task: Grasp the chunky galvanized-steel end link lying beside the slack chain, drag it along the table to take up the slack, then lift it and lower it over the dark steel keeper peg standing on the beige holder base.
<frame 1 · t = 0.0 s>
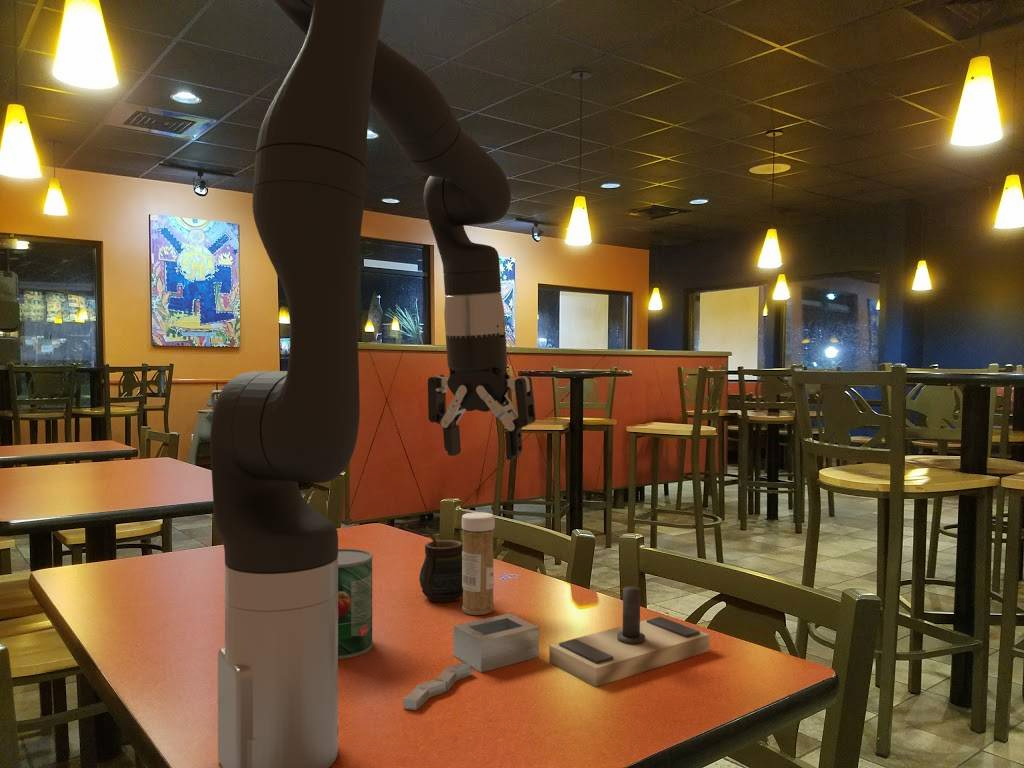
hand: (483, 456, 96), 22 cm above the table, tool pointing down, fingers open, 8 cm apart
canned tomato: (339, 648, 90), on the table
link: (495, 656, 87), on the table
beige holder base: (630, 656, 87), on the table
spice jar: (477, 612, 104), on the table
slack chain: (437, 688, 78), on the table
mate gourd: (442, 599, 110), on the table
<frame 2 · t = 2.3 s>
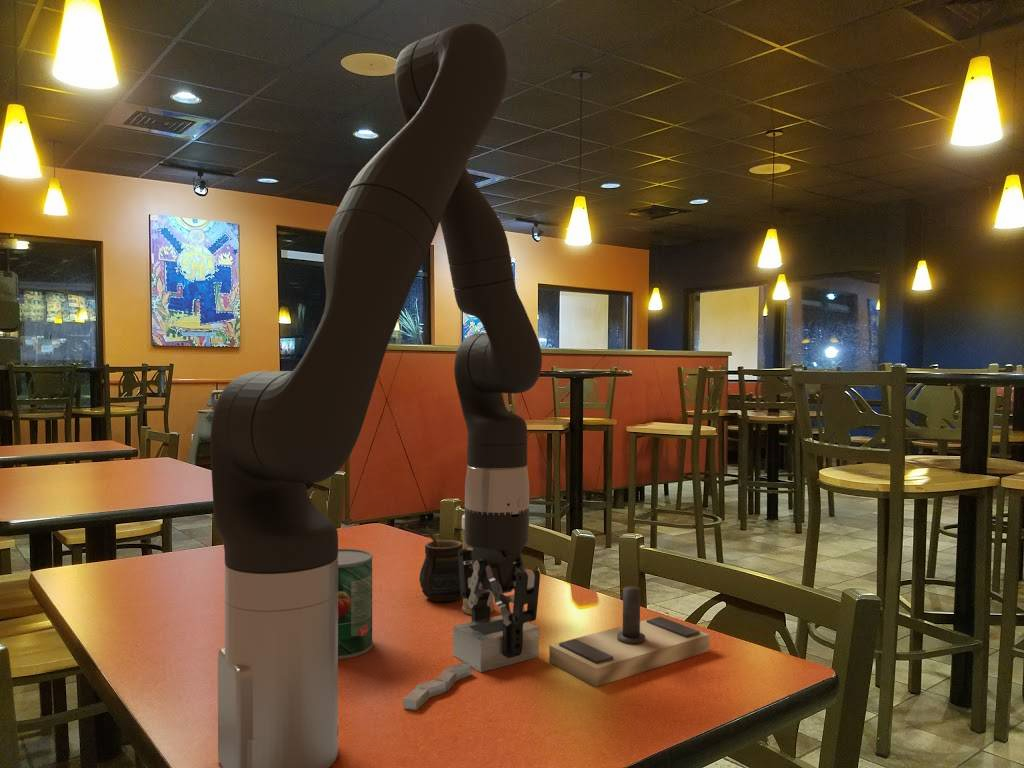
hand: (496, 646, 87), 1 cm above the table, tool pointing down, fingers closed on link, 6 cm apart
link: (495, 656, 87), on the table, touching gripper
everything else where it was.
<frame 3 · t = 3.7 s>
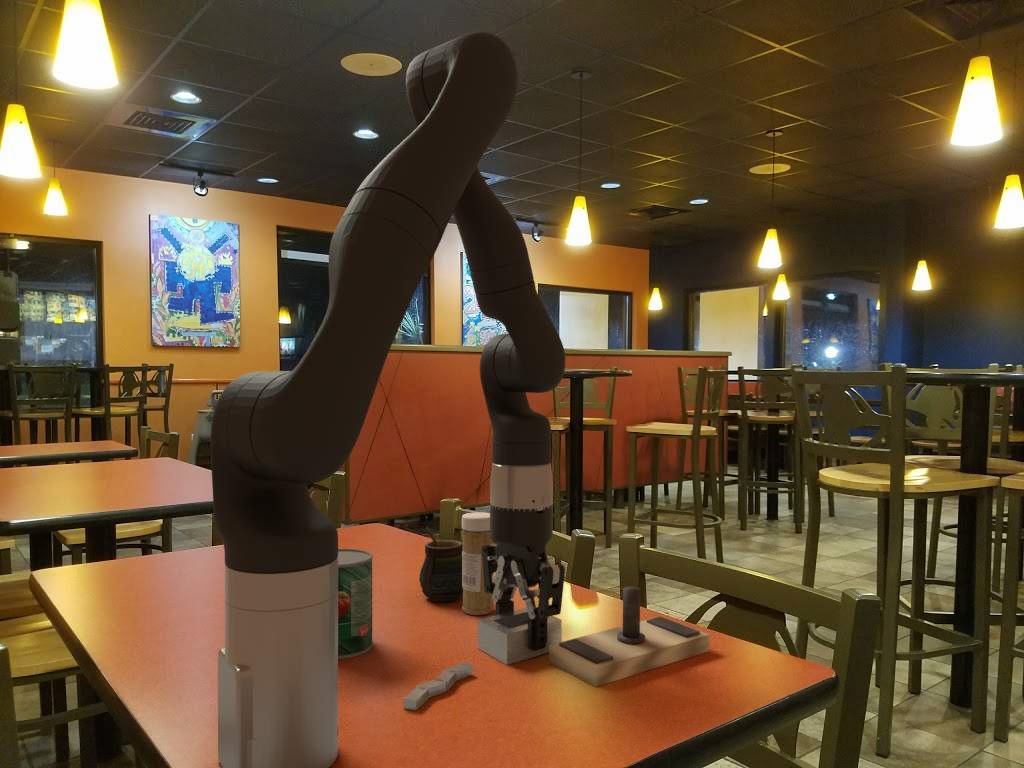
hand: (520, 639, 89), 1 cm above the table, tool pointing down, fingers closed on link, 6 cm apart
link: (519, 648, 89), on the table, touching gripper
everything else where it was.
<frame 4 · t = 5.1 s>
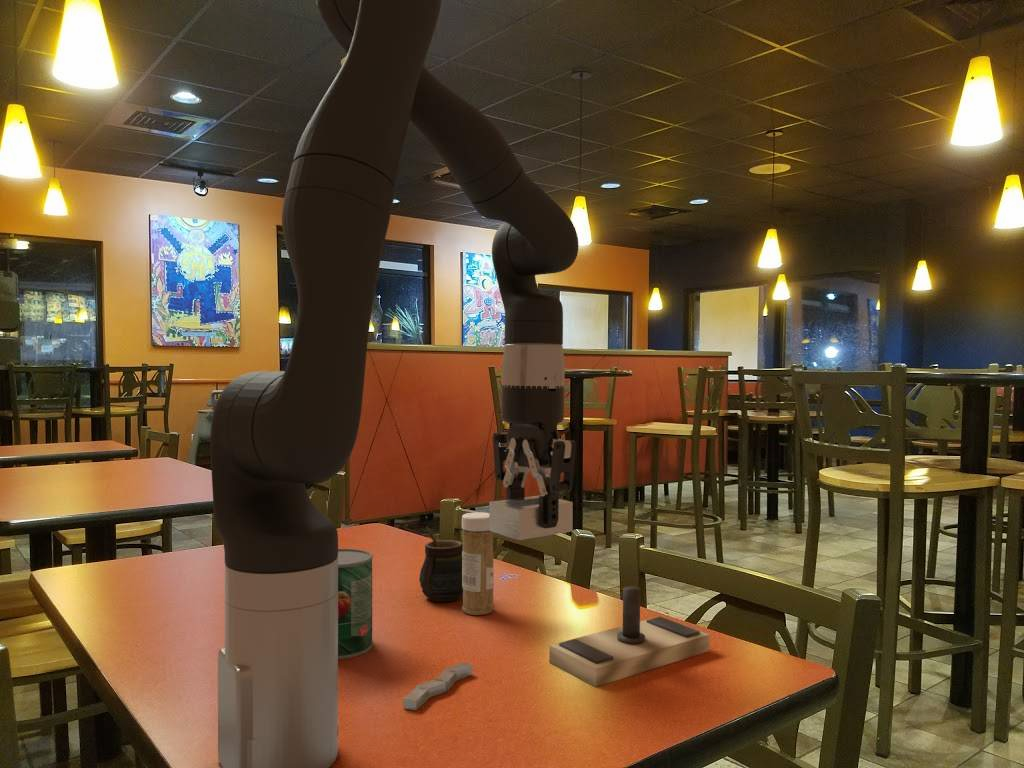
hand: (531, 522, 90), 15 cm above the table, tool pointing down, fingers closed on link, 6 cm apart
link: (530, 530, 90), point 14 cm above the table, touching gripper
everything else where it was.
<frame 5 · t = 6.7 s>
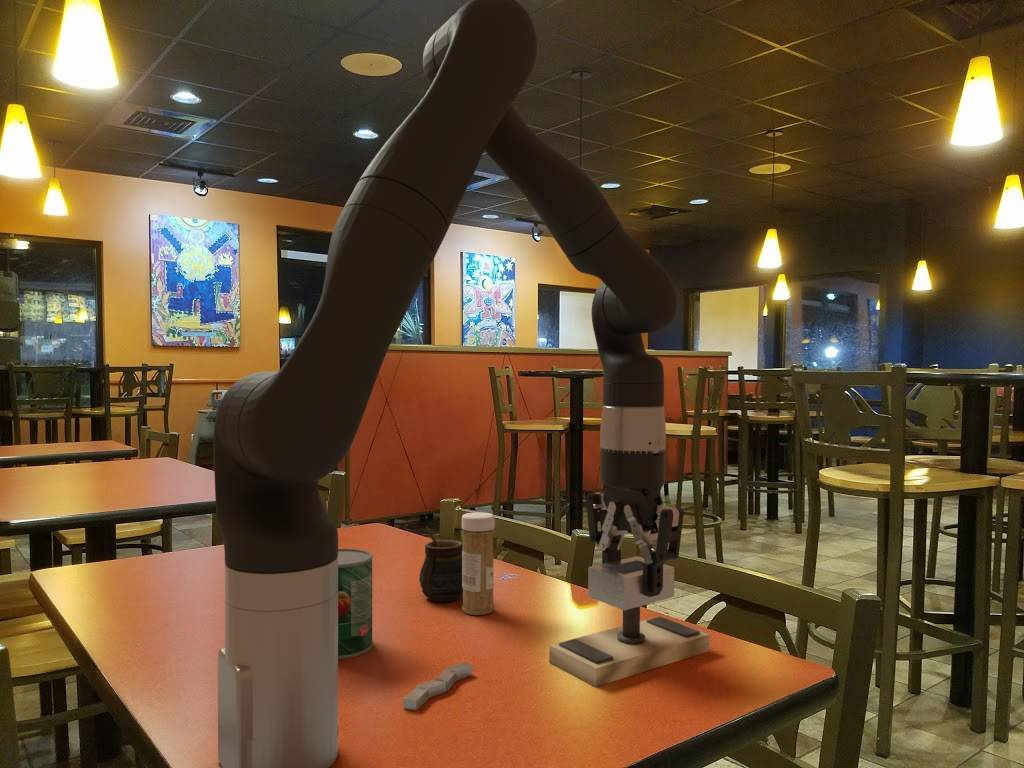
hand: (631, 587, 87), 8 cm above the table, tool pointing down, fingers closed on link, 6 cm apart
link: (631, 596, 87), point 7 cm above the table, touching gripper
everything else where it was.
when the fingers open (4 cm above the table, at t = 8.1 s): link stays where it is, resting on beige holder base.
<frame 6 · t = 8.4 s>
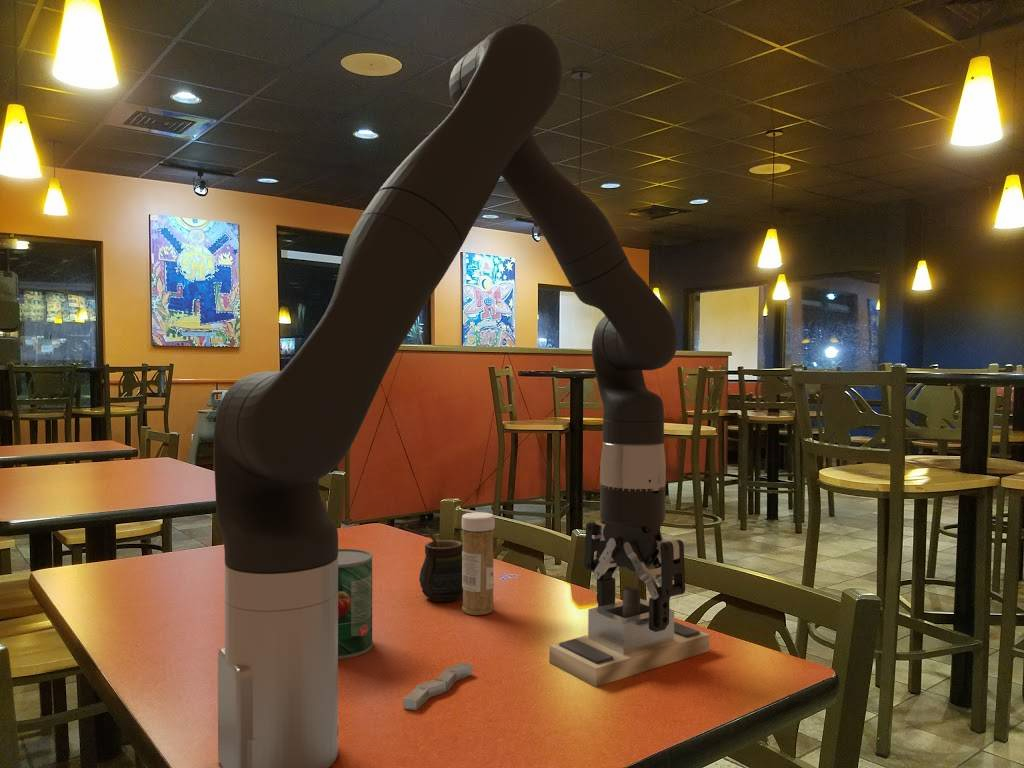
hand: (631, 619, 87), 4 cm above the table, tool pointing down, fingers open, 8 cm apart
link: (630, 639, 87), point 2 cm above the table, touching beige holder base
everything else where it was.
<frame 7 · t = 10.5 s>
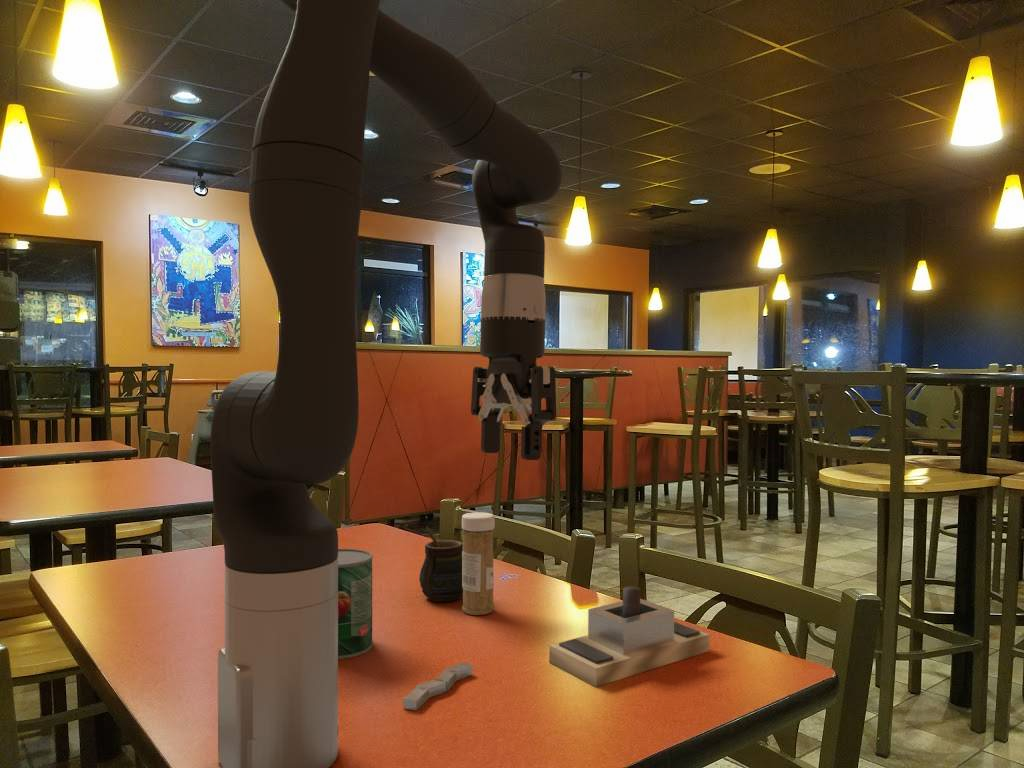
hand: (509, 456, 87), 23 cm above the table, tool pointing down, fingers open, 8 cm apart
nothing on the table moved.
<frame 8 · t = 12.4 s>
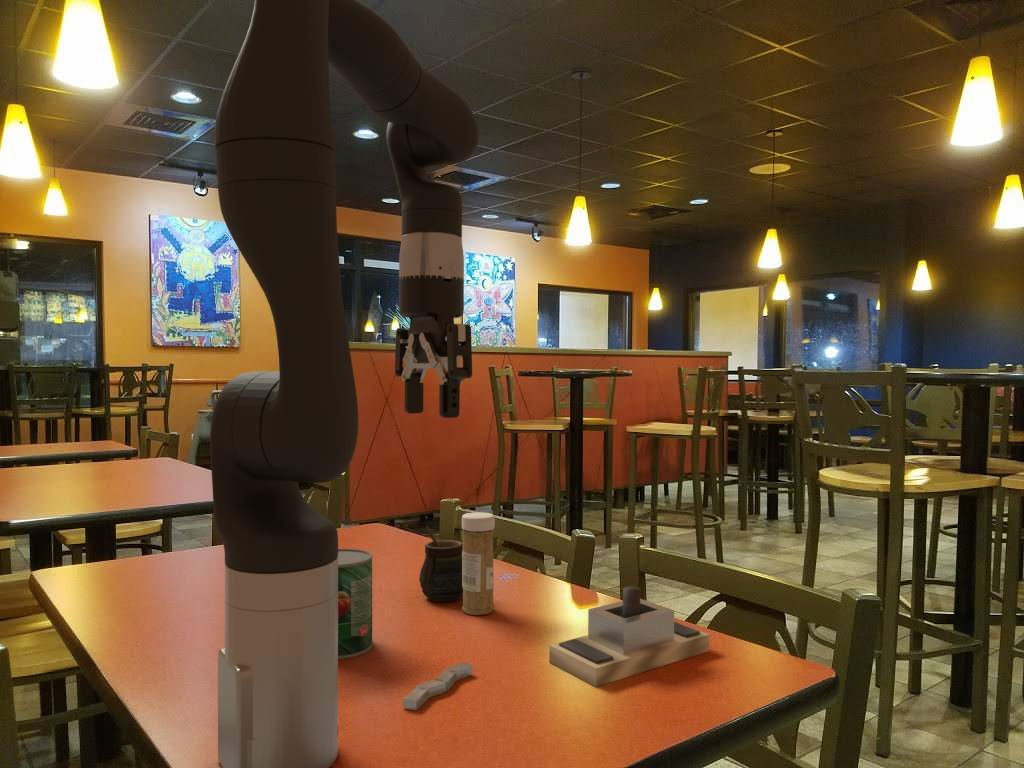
hand: (431, 415, 87), 28 cm above the table, tool pointing down, fingers open, 8 cm apart
nothing on the table moved.
at the end: link 0.0 cm off-centre on the beige holder base, point 2.0 cm above the beige holder base's base; the gripper is holding nothing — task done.
